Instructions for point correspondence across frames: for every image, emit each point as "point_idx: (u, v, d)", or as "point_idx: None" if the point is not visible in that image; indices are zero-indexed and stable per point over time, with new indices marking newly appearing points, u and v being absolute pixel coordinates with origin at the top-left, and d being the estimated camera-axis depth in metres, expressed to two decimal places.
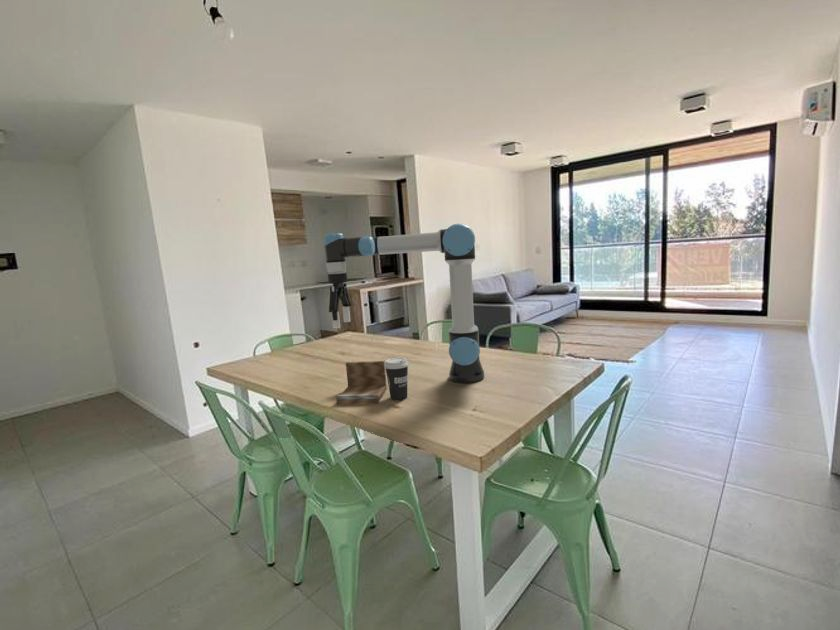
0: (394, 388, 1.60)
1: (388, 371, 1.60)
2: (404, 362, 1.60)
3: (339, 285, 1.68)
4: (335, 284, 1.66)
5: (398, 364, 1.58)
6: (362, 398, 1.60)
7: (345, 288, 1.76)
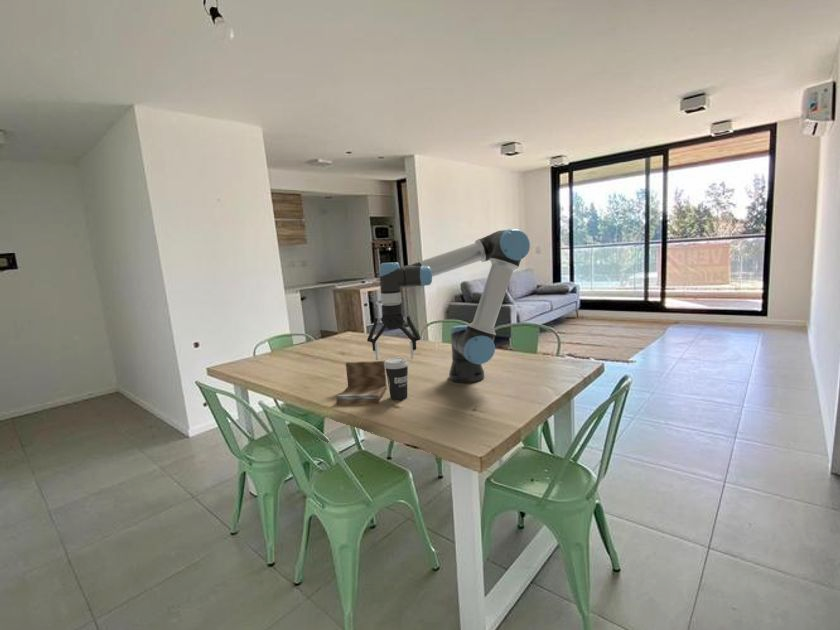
0: (394, 388, 1.60)
1: (388, 371, 1.60)
2: (404, 362, 1.60)
3: (387, 317, 1.59)
4: None
5: (398, 364, 1.58)
6: (362, 398, 1.60)
7: (407, 321, 1.58)
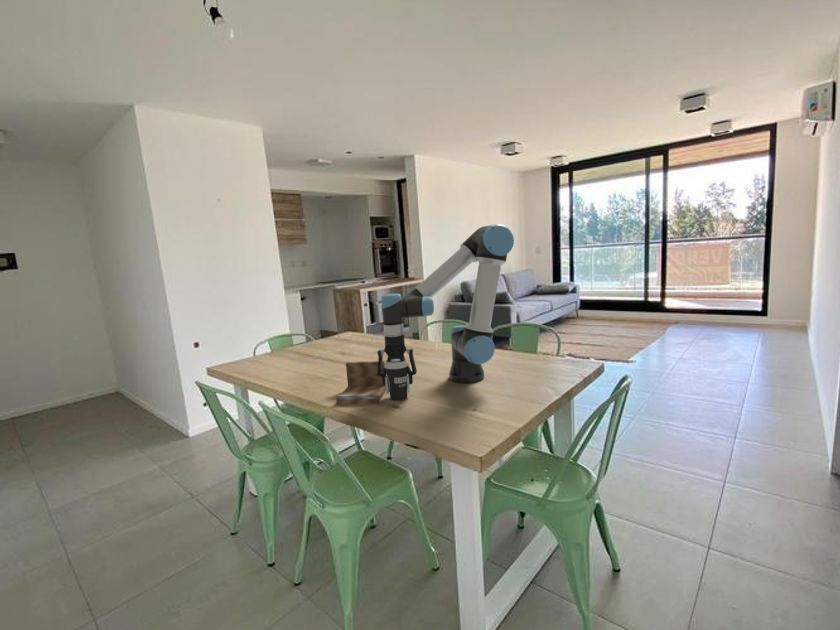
0: (394, 388, 1.60)
1: (388, 371, 1.60)
2: (404, 362, 1.60)
3: (388, 347, 1.61)
4: None
5: (398, 364, 1.58)
6: (362, 398, 1.60)
7: None
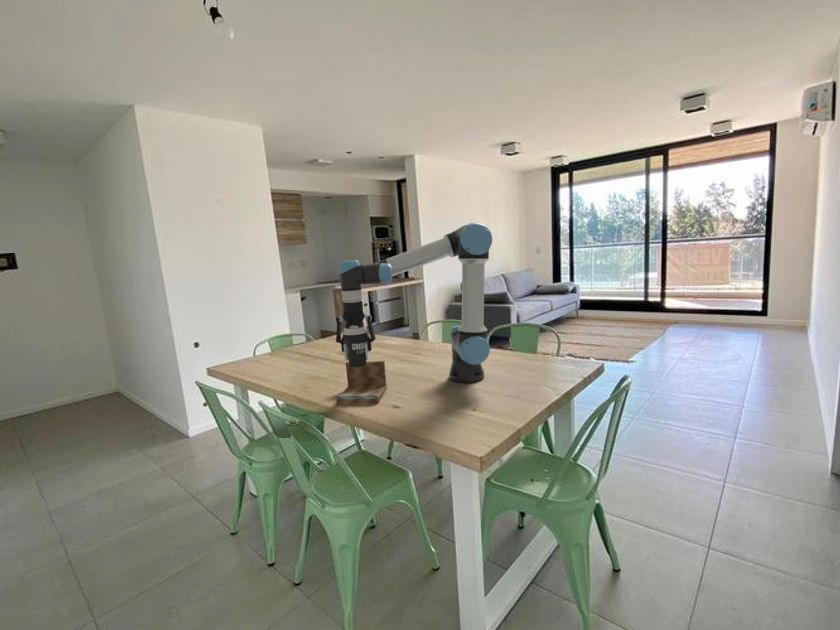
0: (352, 355, 1.60)
1: (346, 337, 1.59)
2: (362, 328, 1.60)
3: (347, 313, 1.60)
4: None
5: (355, 330, 1.58)
6: (362, 398, 1.60)
7: (367, 321, 1.60)
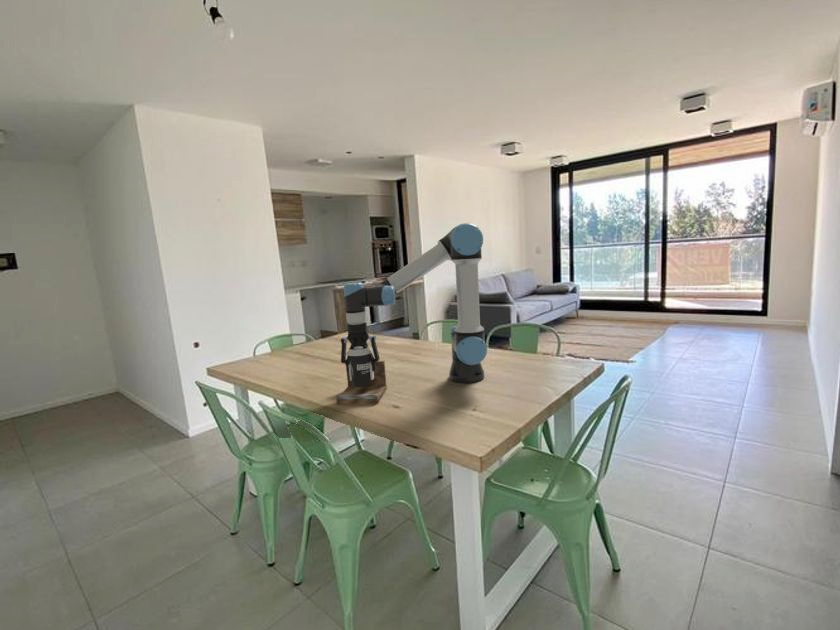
0: (357, 375, 1.64)
1: (351, 358, 1.63)
2: (366, 349, 1.64)
3: (351, 335, 1.64)
4: None
5: (360, 351, 1.62)
6: (362, 398, 1.60)
7: (371, 341, 1.64)
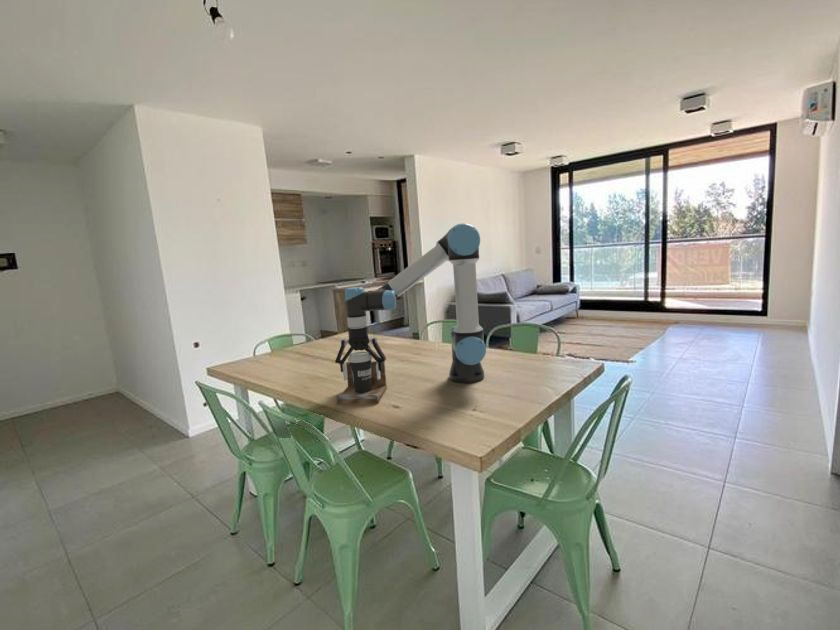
0: (357, 381, 1.66)
1: (352, 365, 1.65)
2: (367, 356, 1.65)
3: (353, 339, 1.66)
4: None
5: (361, 358, 1.63)
6: (362, 398, 1.60)
7: None
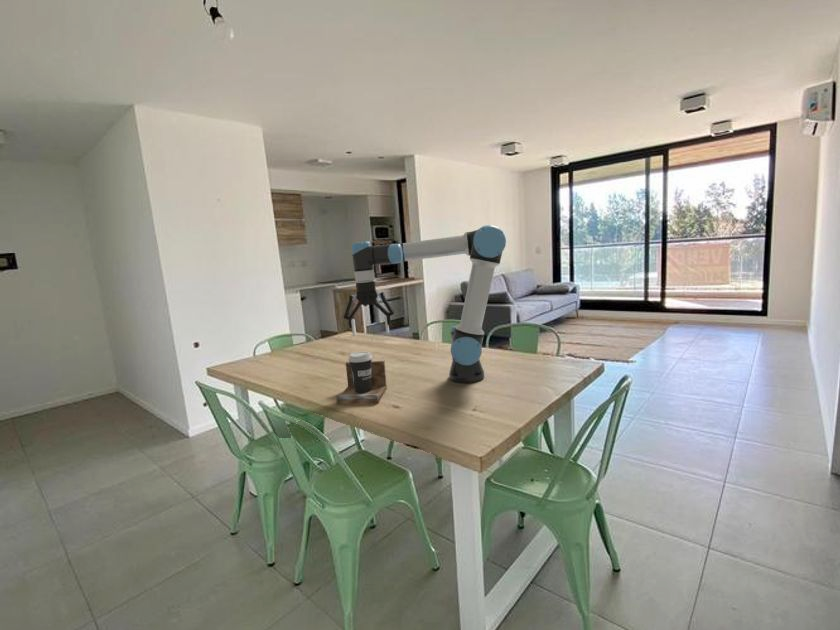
0: (357, 381, 1.66)
1: (352, 364, 1.65)
2: (367, 356, 1.65)
3: (361, 294, 1.67)
4: None
5: (361, 358, 1.64)
6: (362, 398, 1.60)
7: (380, 297, 1.66)
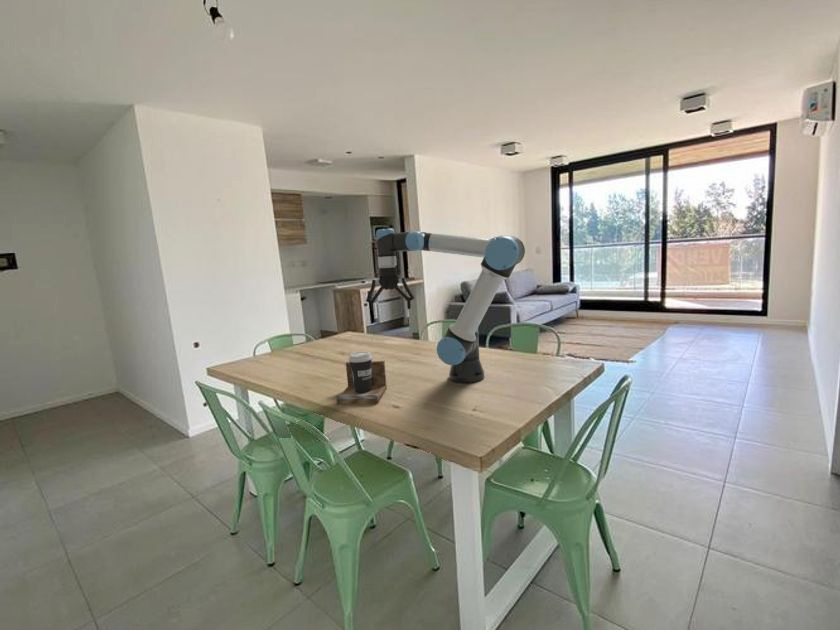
0: (357, 381, 1.66)
1: (352, 364, 1.65)
2: (367, 356, 1.65)
3: (383, 279, 1.75)
4: None
5: (361, 358, 1.64)
6: (362, 398, 1.60)
7: (402, 283, 1.74)
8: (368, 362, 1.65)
